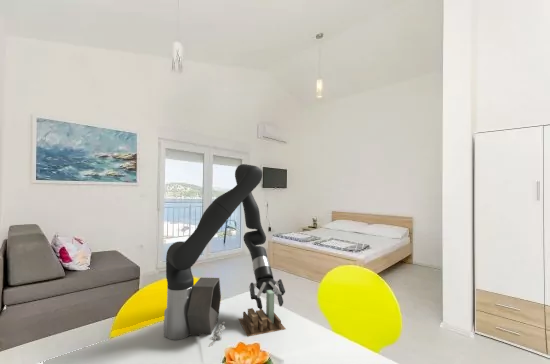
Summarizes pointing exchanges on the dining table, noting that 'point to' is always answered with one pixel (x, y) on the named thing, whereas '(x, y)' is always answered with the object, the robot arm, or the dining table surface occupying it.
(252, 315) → the offcut
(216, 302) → the planter
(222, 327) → the white statue
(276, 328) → the rack
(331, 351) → the dining table surface
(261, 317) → the offcut
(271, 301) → the pale green block
